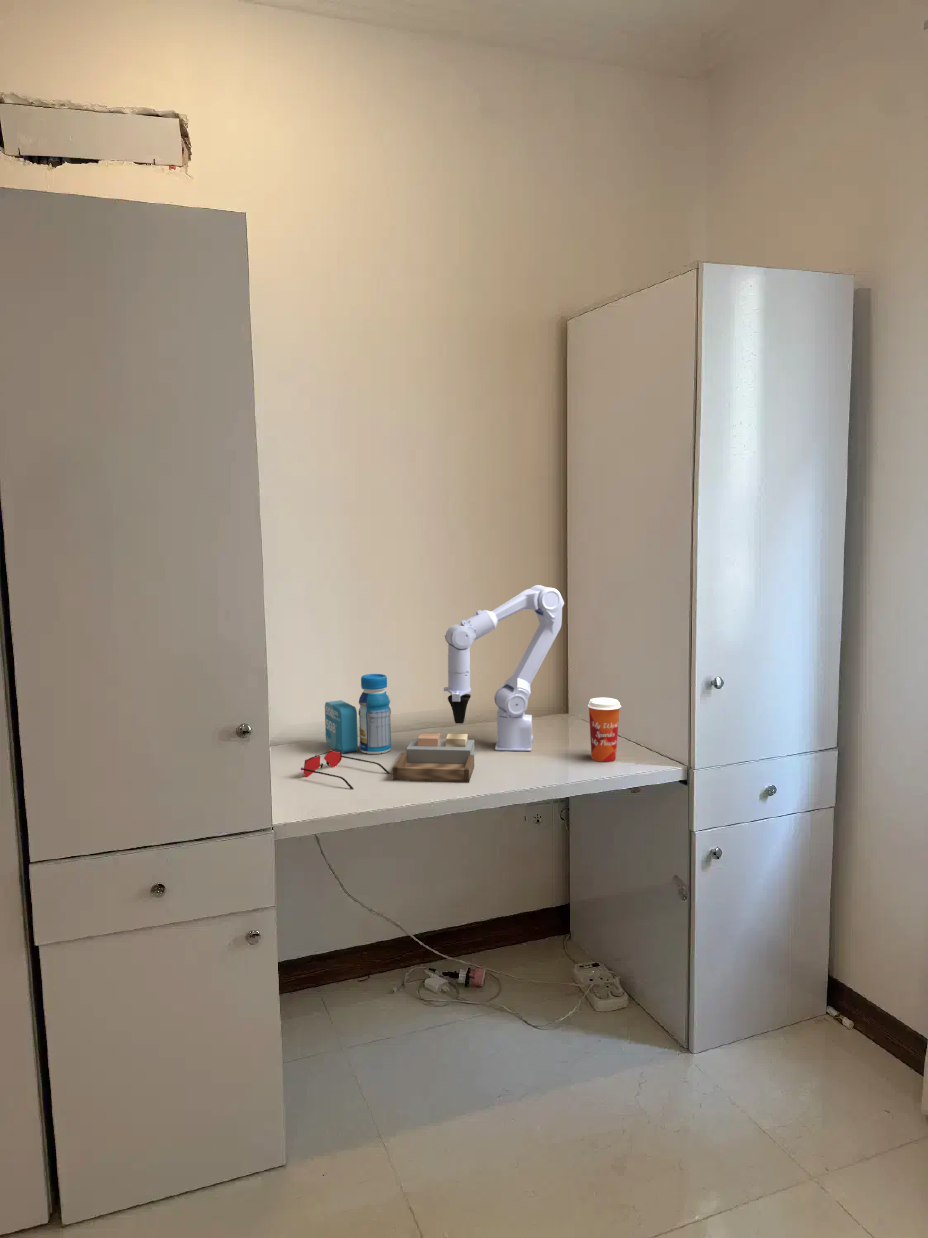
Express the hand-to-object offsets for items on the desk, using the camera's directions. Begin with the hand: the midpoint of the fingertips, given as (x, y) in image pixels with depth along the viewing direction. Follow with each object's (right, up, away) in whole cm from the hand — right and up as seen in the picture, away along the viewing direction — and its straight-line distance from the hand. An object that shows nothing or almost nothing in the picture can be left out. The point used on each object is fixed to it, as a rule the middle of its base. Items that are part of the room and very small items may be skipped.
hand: (459, 722), depth 228 cm
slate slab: (-5, -9, -6) cm, 12 cm away
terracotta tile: (-8, -5, -6) cm, 11 cm away
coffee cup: (+36, -9, -7) cm, 38 cm away
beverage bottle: (-22, -8, +3) cm, 24 cm away
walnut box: (-6, -10, -17) cm, 21 cm away
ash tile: (-1, -5, -6) cm, 8 cm away
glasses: (-27, -11, -18) cm, 35 cm away
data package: (-32, -8, +6) cm, 33 cm away
